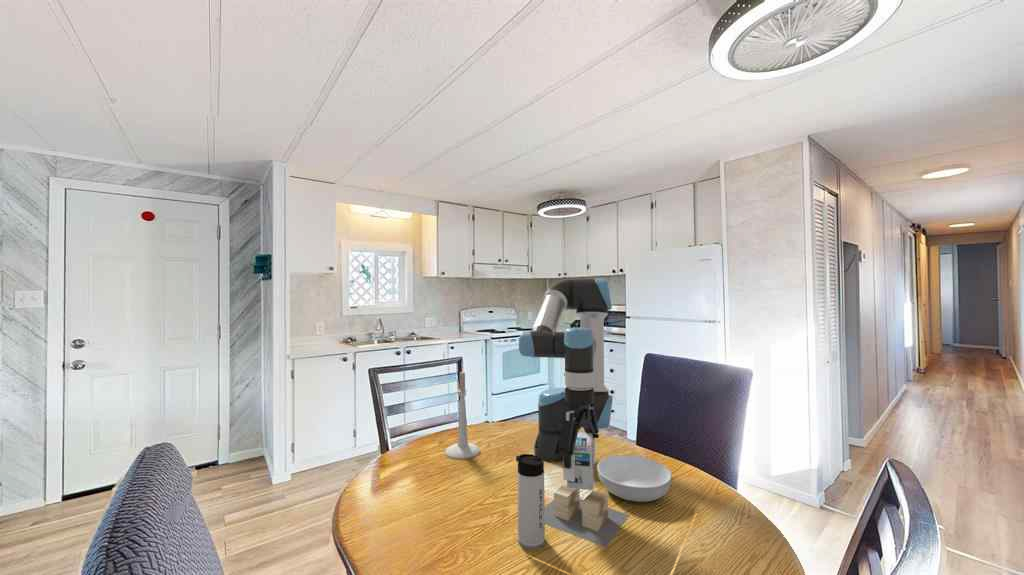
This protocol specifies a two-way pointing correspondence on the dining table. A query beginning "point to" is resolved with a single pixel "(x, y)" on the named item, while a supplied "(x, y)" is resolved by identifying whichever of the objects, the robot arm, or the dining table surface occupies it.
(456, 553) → the dining table surface
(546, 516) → the mat
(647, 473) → the serving bowl
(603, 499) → the block
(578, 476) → the light bulb box
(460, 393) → the candlestick
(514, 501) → the dining table surface
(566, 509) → the beige wooden block
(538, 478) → the travel mug
